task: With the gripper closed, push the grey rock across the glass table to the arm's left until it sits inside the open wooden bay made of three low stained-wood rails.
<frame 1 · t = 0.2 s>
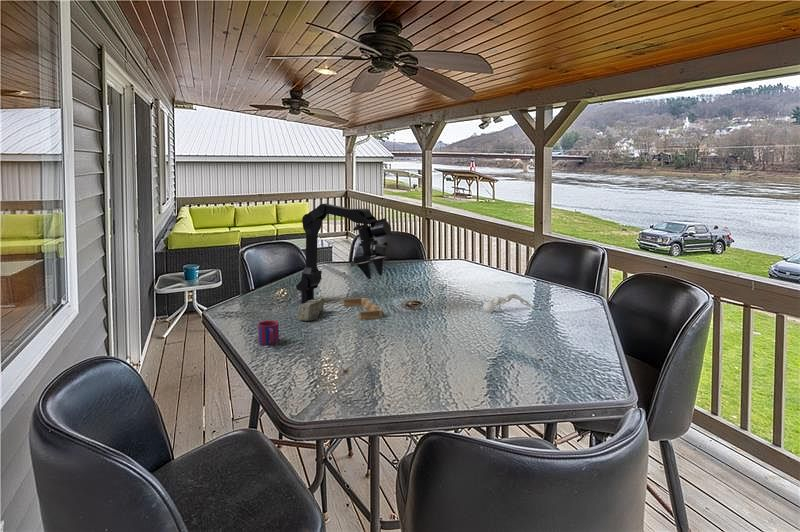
hand: (375, 277, 210), 15 cm above the table, tool pointing down, fingers open, 9 cm apart
figurine: (509, 311, 222), on the table
mug: (269, 344, 174), on the table
rock: (310, 317, 207), on the table
bay: (360, 311, 215), on the table
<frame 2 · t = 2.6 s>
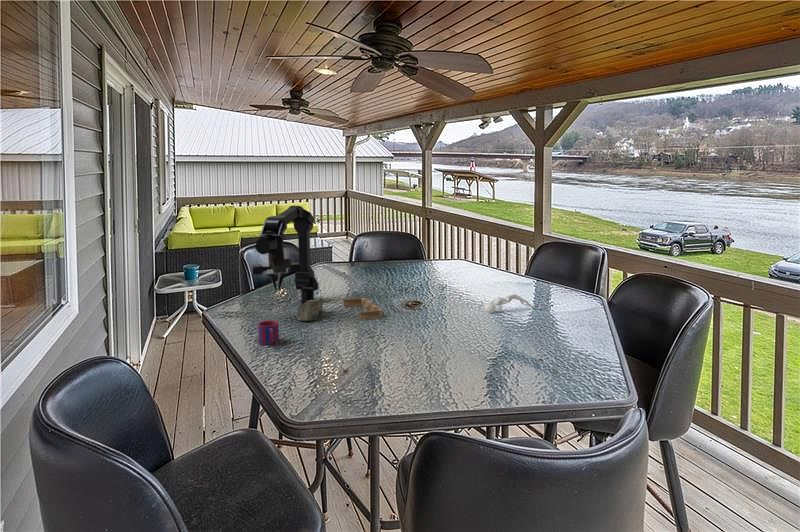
hand: (277, 290, 199), 12 cm above the table, tool pointing down, fingers closed
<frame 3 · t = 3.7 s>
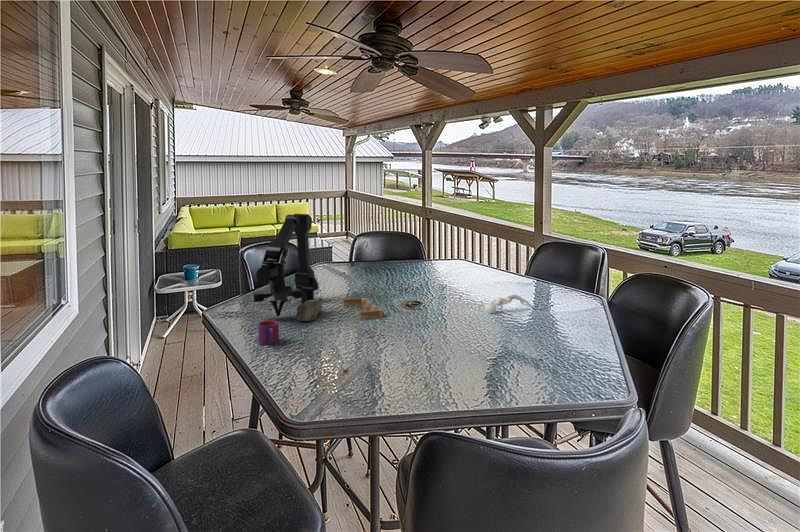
hand: (278, 316, 201), 2 cm above the table, tool pointing down, fingers closed
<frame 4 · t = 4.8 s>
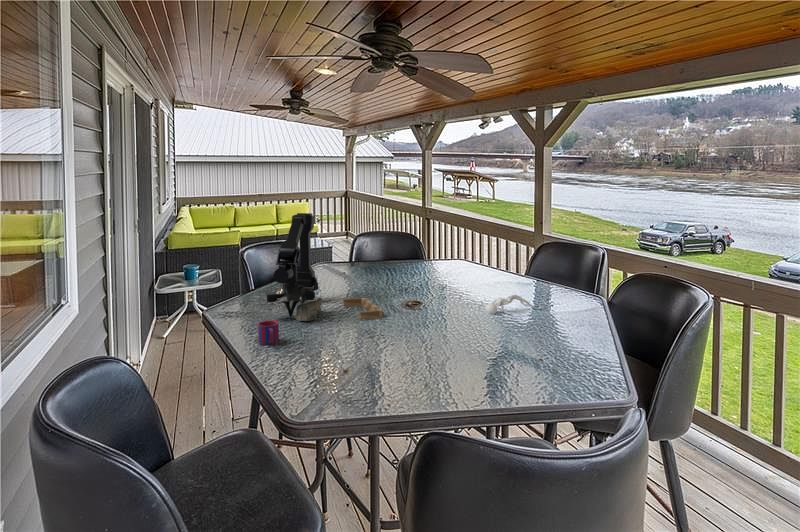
hand: (290, 316, 203), 1 cm above the table, tool pointing down, fingers closed
rock: (308, 318, 206), on the table, touching gripper
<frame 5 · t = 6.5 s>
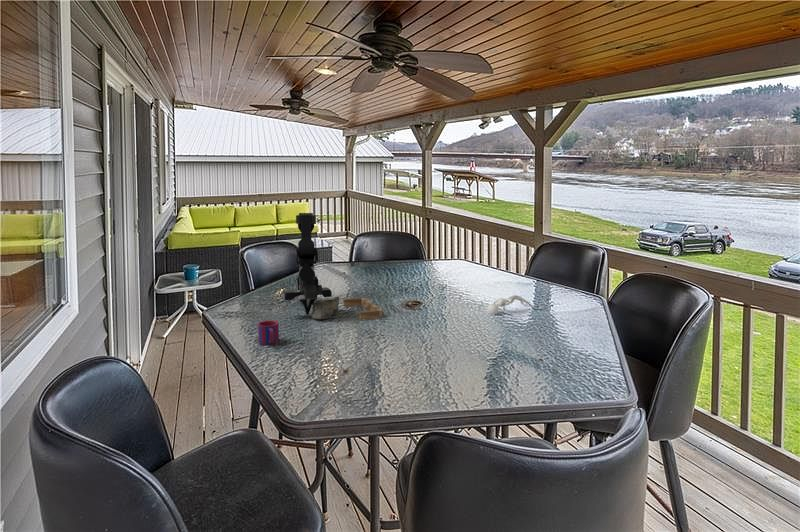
hand: (307, 314, 206), 1 cm above the table, tool pointing down, fingers closed
rock: (325, 316, 208), on the table, touching gripper
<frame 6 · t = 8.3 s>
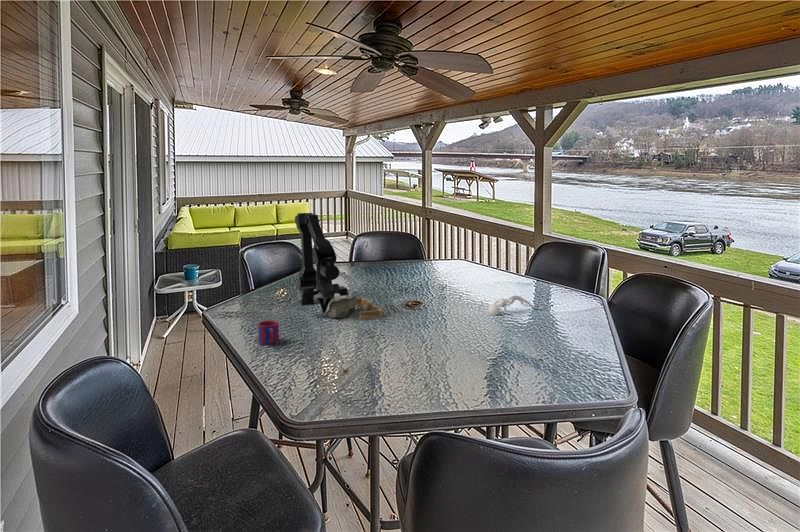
hand: (324, 313, 209), 1 cm above the table, tool pointing down, fingers closed
rock: (341, 315, 211), on the table
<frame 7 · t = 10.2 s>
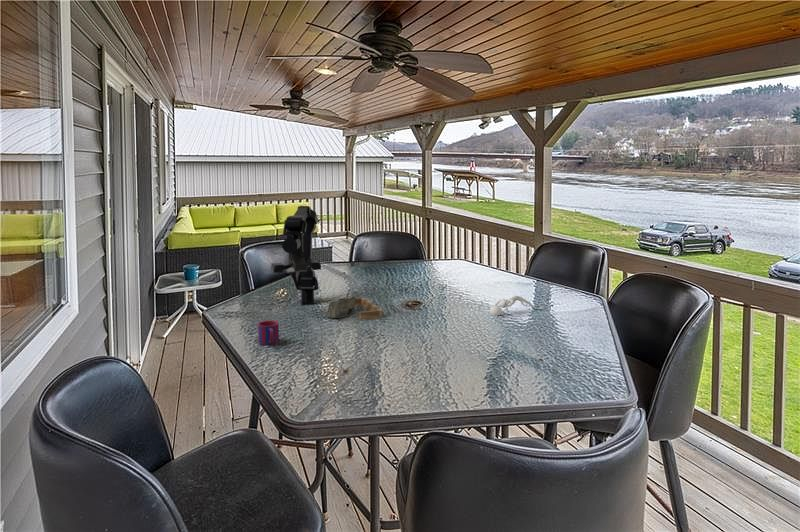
hand: (296, 287, 205), 12 cm above the table, tool pointing down, fingers closed
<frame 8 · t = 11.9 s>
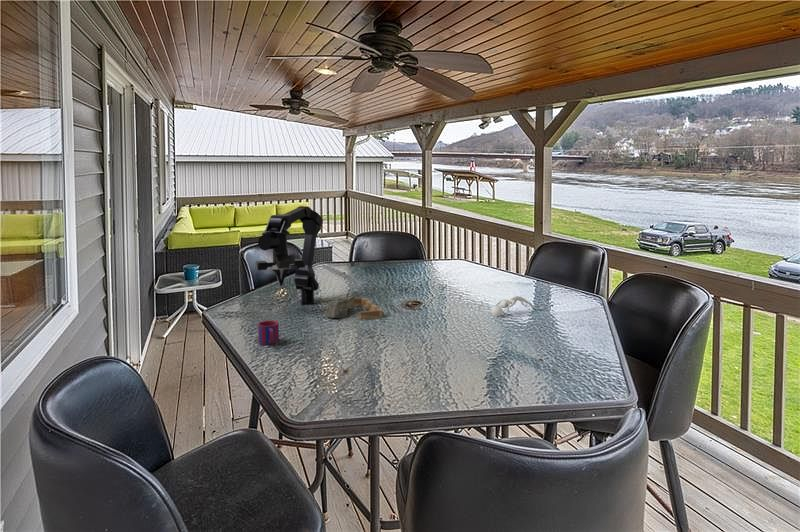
hand: (281, 285, 208), 12 cm above the table, tool pointing down, fingers closed
at the end: rock inside the target area (5.9 cm from its centre), on the table; rock moved 11.7 cm from its start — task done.
